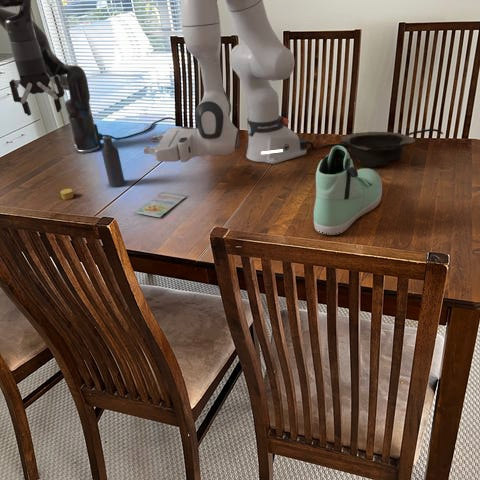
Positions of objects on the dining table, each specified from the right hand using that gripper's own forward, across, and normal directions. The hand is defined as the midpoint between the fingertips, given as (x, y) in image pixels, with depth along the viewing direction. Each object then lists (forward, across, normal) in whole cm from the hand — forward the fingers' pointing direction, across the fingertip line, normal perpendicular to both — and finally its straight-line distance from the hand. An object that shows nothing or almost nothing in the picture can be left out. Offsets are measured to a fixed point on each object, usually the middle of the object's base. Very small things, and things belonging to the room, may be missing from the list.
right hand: (148, 144), depth 157 cm
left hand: (+27, +10, -15) cm, 32 cm away
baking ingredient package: (-6, +17, +13) cm, 23 cm away
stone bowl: (-75, -17, +15) cm, 79 cm away
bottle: (+14, +1, +13) cm, 19 cm away
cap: (+27, +10, +11) cm, 31 cm away
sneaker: (-63, +21, +14) cm, 68 cm away
